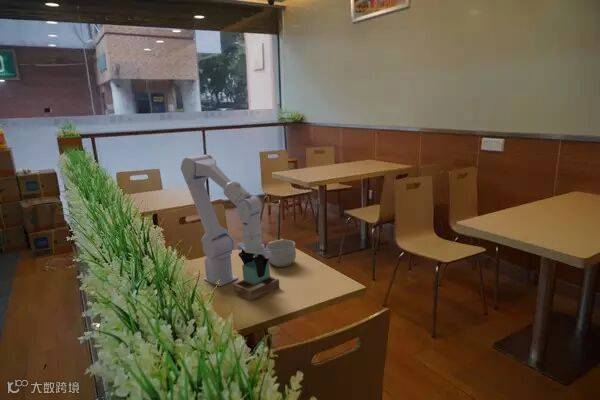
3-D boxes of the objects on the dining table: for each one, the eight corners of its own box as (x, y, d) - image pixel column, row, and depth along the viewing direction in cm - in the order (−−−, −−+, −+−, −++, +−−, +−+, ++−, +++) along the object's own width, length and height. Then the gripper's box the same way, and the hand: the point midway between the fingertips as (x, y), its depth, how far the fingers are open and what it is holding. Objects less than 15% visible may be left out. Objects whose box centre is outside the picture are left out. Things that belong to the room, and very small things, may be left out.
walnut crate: (234, 292, 132) (233, 284, 131) (260, 280, 140) (259, 272, 139) (253, 301, 126) (252, 292, 125) (279, 287, 134) (278, 279, 133)
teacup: (292, 270, 147) (291, 249, 145) (264, 269, 150) (262, 248, 148) (300, 256, 161) (299, 236, 159) (274, 255, 163) (272, 236, 161)
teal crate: (243, 281, 131) (242, 265, 130) (259, 273, 136) (258, 258, 135) (253, 285, 128) (252, 268, 127) (270, 277, 133) (268, 261, 132)
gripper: (277, 235, 126) (280, 275, 129) (247, 227, 136) (250, 265, 139) (260, 241, 121) (263, 283, 124) (230, 232, 131) (234, 272, 134)
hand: (255, 274), depth 131 cm, fingers closed on teal crate, 5 cm apart
